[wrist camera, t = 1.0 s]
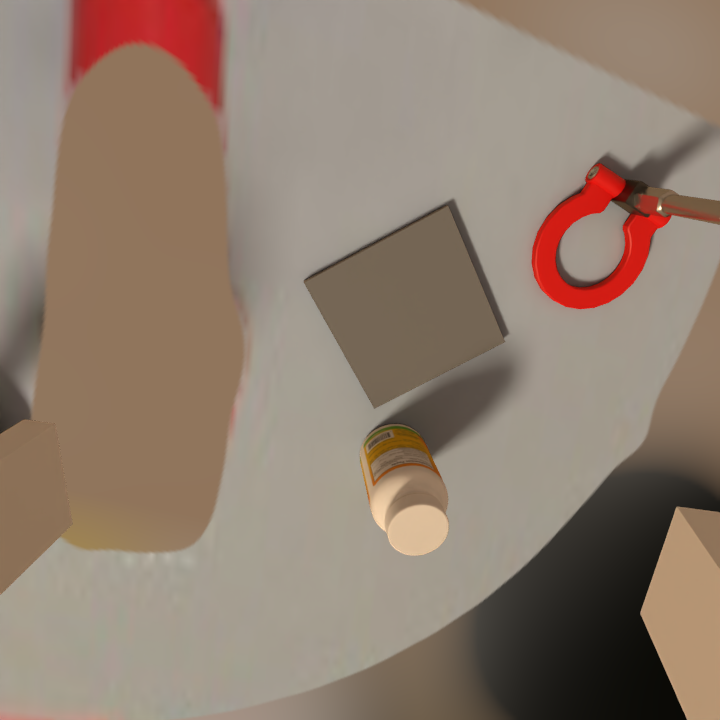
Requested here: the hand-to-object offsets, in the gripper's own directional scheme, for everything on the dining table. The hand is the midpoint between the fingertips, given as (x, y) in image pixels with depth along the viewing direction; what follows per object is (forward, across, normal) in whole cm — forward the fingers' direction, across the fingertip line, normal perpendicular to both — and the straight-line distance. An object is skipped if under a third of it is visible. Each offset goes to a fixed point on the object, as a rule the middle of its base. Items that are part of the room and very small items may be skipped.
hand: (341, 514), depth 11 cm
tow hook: (+31, +13, +2) cm, 34 cm away
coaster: (+27, 0, -3) cm, 28 cm away
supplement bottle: (+27, 0, -15) cm, 31 cm away
